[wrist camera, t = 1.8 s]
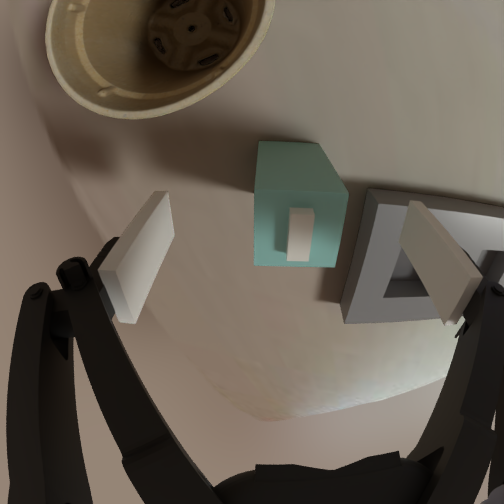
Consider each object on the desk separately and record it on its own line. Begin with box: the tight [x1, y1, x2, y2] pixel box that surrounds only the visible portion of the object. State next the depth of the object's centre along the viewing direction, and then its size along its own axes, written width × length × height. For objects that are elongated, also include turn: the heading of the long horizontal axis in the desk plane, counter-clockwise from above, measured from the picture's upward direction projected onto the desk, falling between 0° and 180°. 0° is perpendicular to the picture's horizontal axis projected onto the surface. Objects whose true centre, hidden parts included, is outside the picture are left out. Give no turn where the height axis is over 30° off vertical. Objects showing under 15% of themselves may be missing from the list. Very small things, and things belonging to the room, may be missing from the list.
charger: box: [254, 141, 349, 267], centre depth 16 cm, size 4×4×9 cm
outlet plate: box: [340, 188, 504, 324], centre depth 22 cm, size 12×20×2 cm, turn 90°
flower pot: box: [45, 0, 275, 120], centre depth 10 cm, size 9×9×9 cm
